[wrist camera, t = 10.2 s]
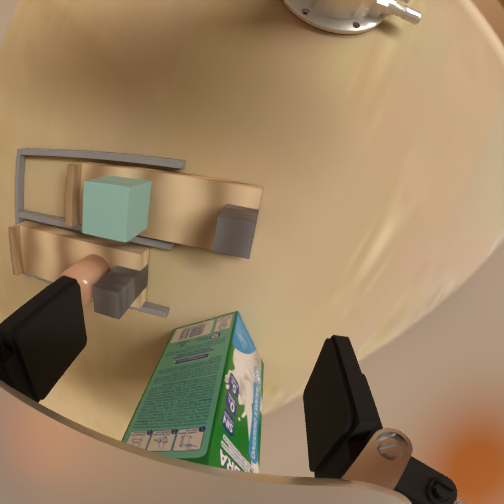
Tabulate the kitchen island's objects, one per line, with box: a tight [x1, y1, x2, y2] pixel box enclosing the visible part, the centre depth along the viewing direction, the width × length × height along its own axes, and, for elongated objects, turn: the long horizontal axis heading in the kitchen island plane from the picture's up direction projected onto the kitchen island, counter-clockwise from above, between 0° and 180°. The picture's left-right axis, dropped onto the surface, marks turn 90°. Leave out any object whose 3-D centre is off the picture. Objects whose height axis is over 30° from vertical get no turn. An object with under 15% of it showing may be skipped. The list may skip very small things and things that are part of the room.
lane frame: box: [15, 148, 185, 318], centre depth 31 cm, size 26×18×1 cm
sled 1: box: [8, 220, 149, 319], centre depth 29 cm, size 21×7×8 cm, turn 79°
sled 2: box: [65, 162, 263, 259], centre depth 27 cm, size 21×7×8 cm, turn 79°
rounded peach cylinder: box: [60, 254, 111, 307], centre depth 29 cm, size 4×4×5 cm
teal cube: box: [82, 175, 152, 243], centre depth 26 cm, size 5×5×5 cm
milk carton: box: [122, 312, 264, 473], centre depth 25 cm, size 9×9×25 cm
